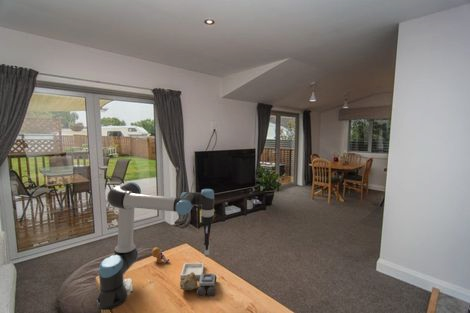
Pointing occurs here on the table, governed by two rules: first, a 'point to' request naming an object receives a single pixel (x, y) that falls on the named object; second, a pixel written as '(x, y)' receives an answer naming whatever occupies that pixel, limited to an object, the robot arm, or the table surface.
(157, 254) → the toy
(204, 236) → the pin
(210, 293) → the trolley
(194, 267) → the tray
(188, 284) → the rock
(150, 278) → the table surface
